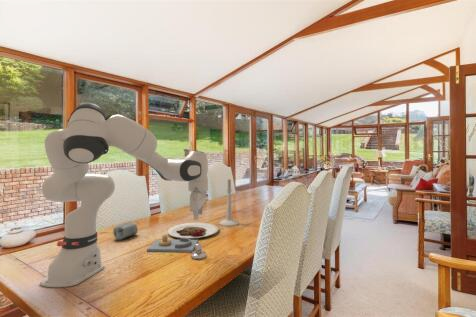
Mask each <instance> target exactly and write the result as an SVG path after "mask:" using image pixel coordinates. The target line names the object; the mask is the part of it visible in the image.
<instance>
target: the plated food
mask: <svg viewBox="0 0 476 317" xmlns="http://www.w3.org/2000/svg"><path fill="white" fill-rule="evenodd" d="M218 232H219V227H218V226H217V225H215V224H213V223H207V222H186V223H181V224H176V225H173V226H171V227H169V228H168V230H167V235H169V236H171V237H173V238H178V239H180V238H189V239H190V240H195V239H201V238H205V237H209V236H213V235H214V234H217V233H218Z"/></svg>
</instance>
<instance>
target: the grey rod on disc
mask: <svg viewBox="0 0 476 317" xmlns="http://www.w3.org/2000/svg"><path fill="white" fill-rule="evenodd" d="M231 182H232V180H231V179H230V178H228V179H227V189H226V191H227V192H226V193H227V203H226V206H227V207H226V218H225V219H223V220H221V221H219V225H220V226H222V227H236V226H238V225H239V224H240V223H239V221H238V220H236V219H233V217H232V216H233V213H232V197H231V196H232V195H231V193H232V190H233V189H232V186H231Z"/></svg>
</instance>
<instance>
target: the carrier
mask: <svg viewBox="0 0 476 317" xmlns="http://www.w3.org/2000/svg"><path fill="white" fill-rule="evenodd" d="M196 243H199V239H189V238H179V239H173V238H172V239H171V238H168V233H165V234H162V236H161V238H159V239H158V238H157V239H155V241H154V242H153V243H151V245H149V246H148V248H146V252H147V253H149V252H150V253H151V252H153V253H155V252H157V253H158V252H163V253H167V252H168V253H192V252H194V251H195V244H196Z"/></svg>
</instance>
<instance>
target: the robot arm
mask: <svg viewBox="0 0 476 317" xmlns="http://www.w3.org/2000/svg"><path fill="white" fill-rule="evenodd" d="M157 146H158V140H157V137H156V136H155V135H154V133H153V132H151V130H149V129H148V128H146V127H144V126H143V125H142V124H140V123H138V122H137V121H135V120H133V119H132V118H129V117H126V116H124V115H122V114H114V115H111V116H110V117H109V118H107V116H106V113H105V110H104V109H103V108H102V107H101V106H99V105H97V104H95V103H92V102H91V103H90V102H85V103H83V102H82V103H80V104H78V105H77V106H76V107H75V108H74V109H73V110H72V111H71V113H70V116H69V118H68V119H67V126H66V128H64V129H55V130H53V131H51V132H49V133H48V134H47V135H46V137H45V139H44V149H45V154H46V157H47V159H48V162H49V164H50V166H51V169H52V171H53V174H52V175H50V176H48V177H47V178H46V179H45V180H44V181H43V183H42V185H41V186H42V187H41V192H42V195H43V197H44V199H46V200H47V201H51V202H58V203H66V202H69V203H70V202H80V207H78V208H76V209H73V210H72V211H70V212H68V213H67V215H65V218H64V236H63V239H62V240H58V241H57V242H56V246H57V247H61V249H60V250H59V251H58V252H57V254H56V255H55V257H53V258H54V259H53V260H52V261H51V262H50V263H49V266H48V270H47V275H46V276H45V277H44V278H43V279H41V280H40V281H39V285H40V286H42V287H45V288H46V287H47V288H66V287H72V286H73V287H74V286H76V285H78V284H80V283H82V282H83V281H85V280H87V279H88V278H90V277H92V276H94V275H96V274H97V273H98V272H101V271H102V270H103V269H105V265H104V264H103V263H102V254H101V248H100V247H99V244H98V243H97V242H98V237H99V236H98V231H97V217H98V212H99V209H100V208H101V206H102V205H103V204H104V202H105V201H107V200H108V199H109V198H110V197H111V196H112V195H113V194H114V192H115V188H116V187H115V186H116V184H115V181H114V179H113V178H112V177H111V175H108V174H103V173H88V172H89V170H90V166H89V164H90V163H92V162H95V161H96V160H99V159H100V158H101V157H102V156H103V155H107V153H108V152H109V150H110V148H109V147H115V148H117V149H119V150H120V151H122V152H124V153H126V154H128V155H130V156H131V157H133V158H135V159H138V160H139V161H141V162H143V163H144V164H145V165H147V166H149V167H150V168H151V169H153V170H154V171H156V173H157V174H158V175H159V177H160V178H161V179H162V180H164V181H170V182H171V181H176V182H188V186H187V188H188V190H187V191H189V192H191V193H190V195H189V211H190V212H192V214H193V215H192V216H193V220H194V221H198V220H199V217H200V216H201V215H202V214H203V211H204V210H203V209H204V204H206V201H207V191H208V190H209V179H208V171H209V163H208V157H207V154H206V153H205V152H204V151H198V150H190V151H189V153H188V154H187V155H186V156H184V157H182V158H172V157H171V158H170V157H164V156H162V154H159V153H158V152H157V151H156V150H157V148H158V147H157ZM199 215H200V216H199Z"/></svg>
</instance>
